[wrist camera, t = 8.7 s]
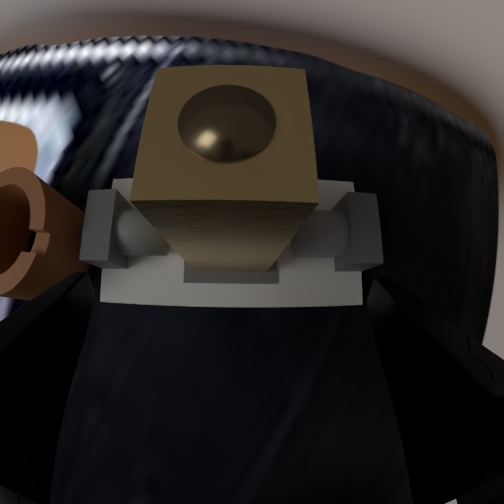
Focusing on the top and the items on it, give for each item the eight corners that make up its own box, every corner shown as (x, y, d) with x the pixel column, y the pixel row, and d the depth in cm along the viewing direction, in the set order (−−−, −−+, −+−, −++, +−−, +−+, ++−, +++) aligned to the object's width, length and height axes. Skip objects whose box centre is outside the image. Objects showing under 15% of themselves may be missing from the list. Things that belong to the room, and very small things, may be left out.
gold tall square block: (266, 272, 19) (320, 201, 7) (195, 271, 19) (128, 199, 7) (266, 204, 20) (305, 67, 8) (198, 203, 20) (157, 66, 8)
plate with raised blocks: (348, 187, 22) (371, 161, 18) (357, 305, 20) (385, 302, 16) (117, 184, 21) (95, 158, 17) (106, 302, 19) (76, 298, 15)
